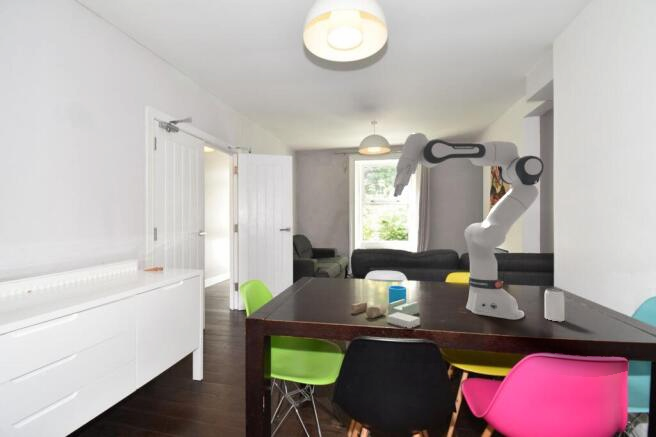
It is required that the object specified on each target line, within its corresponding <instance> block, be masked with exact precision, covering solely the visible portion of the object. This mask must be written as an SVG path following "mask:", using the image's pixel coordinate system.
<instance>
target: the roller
mask: <svg viewBox="0 0 656 437" xmlns="http://www.w3.org/2000/svg"><path fill="white" fill-rule="evenodd" d="M386 312H387V308H386V306H385V304H383V303H379V304H376V305H372V306H370V307H367V309H366V311H365V315H366V316H367V318H369V319H375V318H377V317H380V316H383V315H385V314H386Z"/></svg>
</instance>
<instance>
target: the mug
mask: <svg viewBox="0 0 656 437" xmlns="http://www.w3.org/2000/svg"><path fill="white" fill-rule="evenodd" d="M402 299H405V303H407V287H405V286H401V285H390V286H388V304H389V303H392V302H395V301H399V300H402Z"/></svg>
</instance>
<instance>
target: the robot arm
mask: <svg viewBox="0 0 656 437" xmlns="http://www.w3.org/2000/svg"><path fill="white" fill-rule="evenodd" d="M401 152H402V153H401V155H400V156H399V158H398V162H397V165H396V168H395V169H396V170H395V171H396V173H395V174H396V175H395V178H394V182H393V183H394V184H393V187H394V192H393V197H394V198H397V197H399V196H401V195H402V193H403V190H404V189H405V187H407V186H408V185H409V183H410V180H411V177H412V175H414V174H416V172H417V171H416V170H417V168H418V165H421V166H423V167H426V168H427V169H428V168H431V169H432V168H434V167H436V166H438V165H439V164H440V163H442V162H445V161H447V160H451V159H453V160H455V159H457V160H460V159H461V160H462V159H463V160H465V159H468V160H470V162H471V164H473V165H474V166H477V167H497V170H498V176H499V178H500V181H501V182H502V183H505V184H506V185H511V186H510V188H509V190H508V191H507V192H506V193H504V195H503V196H502V197H501V198H500V199H499V200H497V202H496V203H495V204H494V205H493V206H492V207H491V208H490V211H489V213H488V215H487V216H486V217H485V219H484V220H483V221H481V222H474V223H471V224H470V225H468V226H467V227H466V228H465V230H464V233H463V234H464V238H465V242H466V248H467V252H468V257H469V277H468V289H469V293H468V299H467V303H466V305H465V308H466V310H468V311H469V312H470V311H471V312H472V313H473V314H475V315H479V316H481V315H482V316H486V317H487V316H488V317H494V318H501V319H507V320H513V321H514V320H520V319H522V318H524V317H525V312H524V311H523V310H519V306H518V302H517V299H516V298H515V297H514V296H512V295H511V294H510V293H508V292H507V290H505V289H504V288H503V284H504V281H503V280H502V281H501V280H500V279H499V278H498V260H497V257H496V256H495V253H494V249H495V248H498V247H501V246H502V245H503V244H504V243H505V241H506V238H507V234H508V233H509V231H510V229H511V228H512V227H513V225H514V224H515V223H516V222H517V221H518V220H519V219H520V218H521V217H522V215H523V214H525V213H526V212H527V210H528V209H530V207H531V206H532V205H533V204H534V202H535V201H536V199H537V197H538V195H539V189H538V187H536V184H537V183H539V182H540V179H541V176H542V175H543V171H544V167H545V165H544V162H543V160H542V159H541V158H540V157H539V156H535V155H525V156H524V155H523V156H522V157H521V156H520V155H519V150H518V146H517V145H516V144H515V143H514V142H510V141H502V140H501V141H500V140H490V141H480V142H473V143H467V142H466V143H465V142H464V143H453V142H447V141H445V140H442V139H432V140H429V138H428V137H427V135H426V134H424V133H421V132H413V133H410V134H409V135H408V136H407V138H406V140H405V141H404V145H403V147H402V150H401Z"/></svg>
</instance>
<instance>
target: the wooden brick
mask: <svg viewBox="0 0 656 437" xmlns="http://www.w3.org/2000/svg"><path fill="white" fill-rule="evenodd" d="M367 308H368V301H365V300H364V301H360V302H356V303H353V304H351V314H355V315H356V314H358V313H363V312H366V309H367ZM362 311H363V312H362Z"/></svg>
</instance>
